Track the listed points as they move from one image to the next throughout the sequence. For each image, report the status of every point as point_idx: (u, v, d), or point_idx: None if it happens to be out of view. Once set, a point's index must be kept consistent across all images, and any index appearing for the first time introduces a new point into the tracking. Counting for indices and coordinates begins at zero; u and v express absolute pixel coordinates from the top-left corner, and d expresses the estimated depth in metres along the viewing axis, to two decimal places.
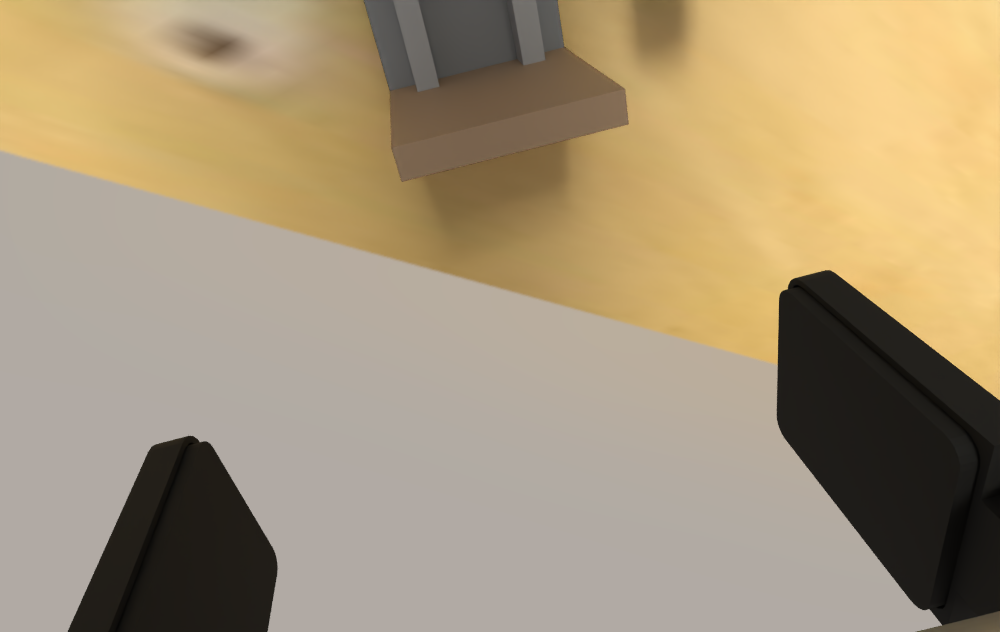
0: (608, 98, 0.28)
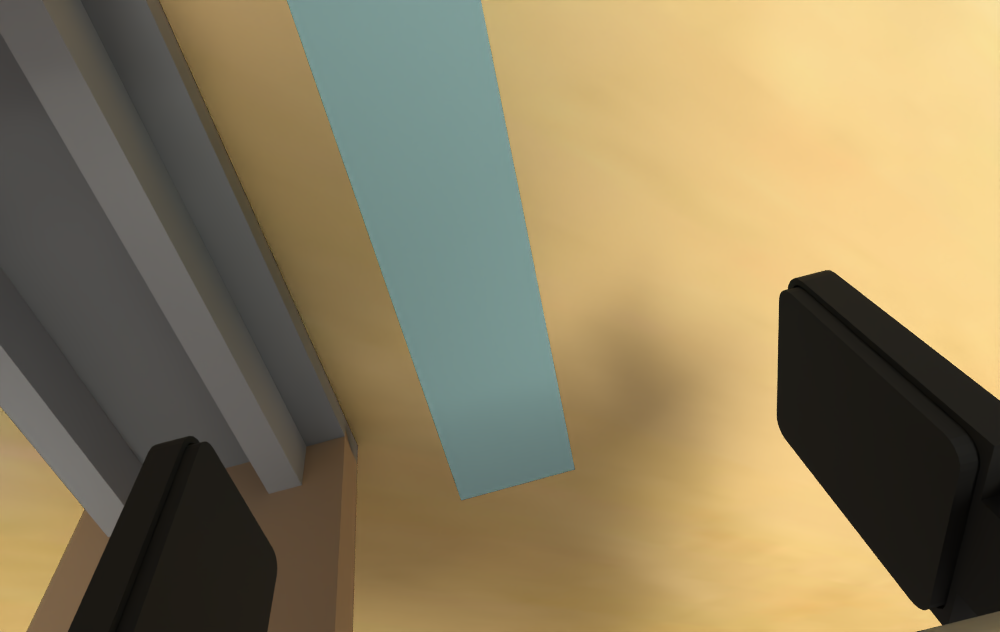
0: None
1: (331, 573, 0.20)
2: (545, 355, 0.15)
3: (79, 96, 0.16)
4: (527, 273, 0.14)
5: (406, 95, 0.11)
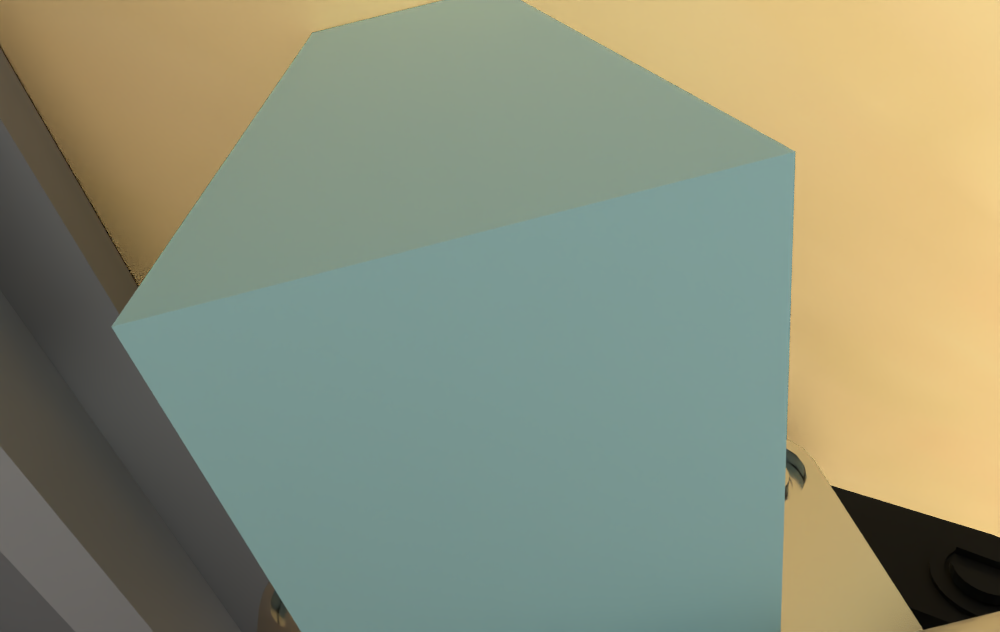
0: None
1: None
2: None
3: None
4: None
5: (522, 547, 0.04)
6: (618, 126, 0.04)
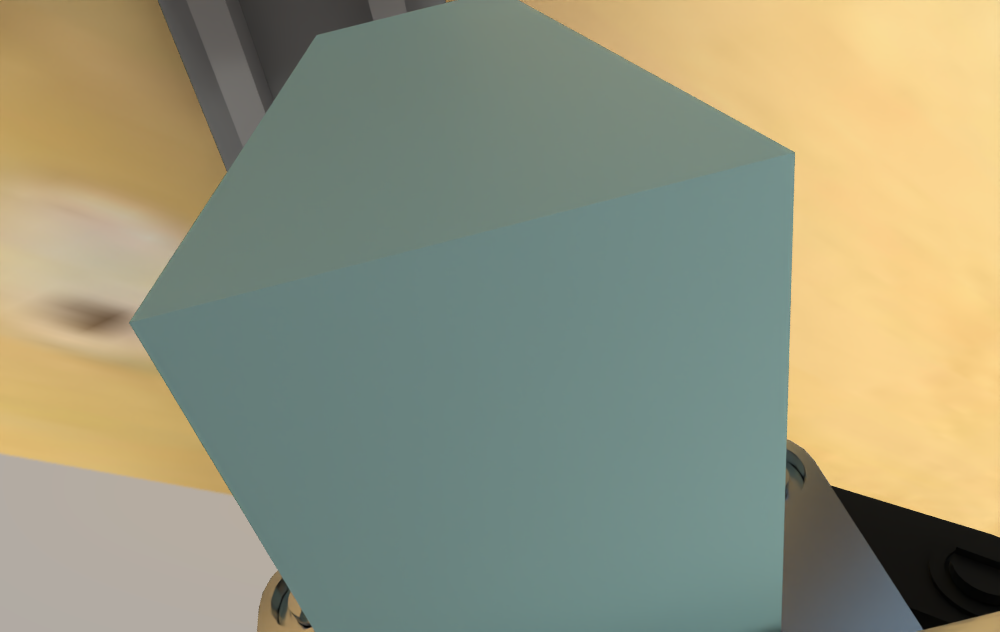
0: None
1: None
2: None
3: None
4: None
5: (526, 540, 0.04)
6: (621, 128, 0.04)
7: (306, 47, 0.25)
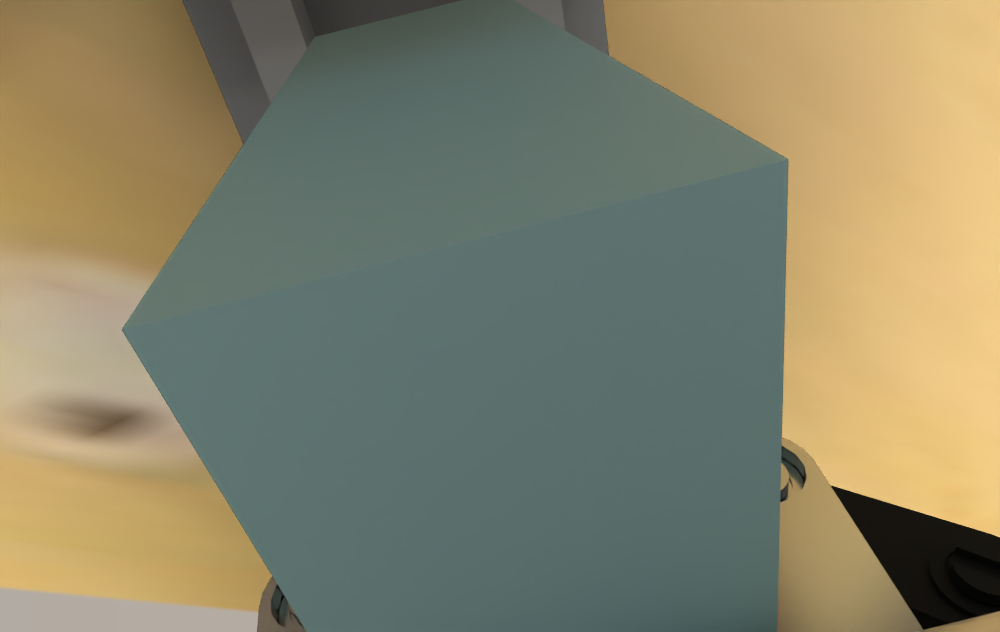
0: None
1: None
2: None
3: (549, 7, 0.15)
4: None
5: (523, 545, 0.04)
6: (616, 133, 0.04)
7: None
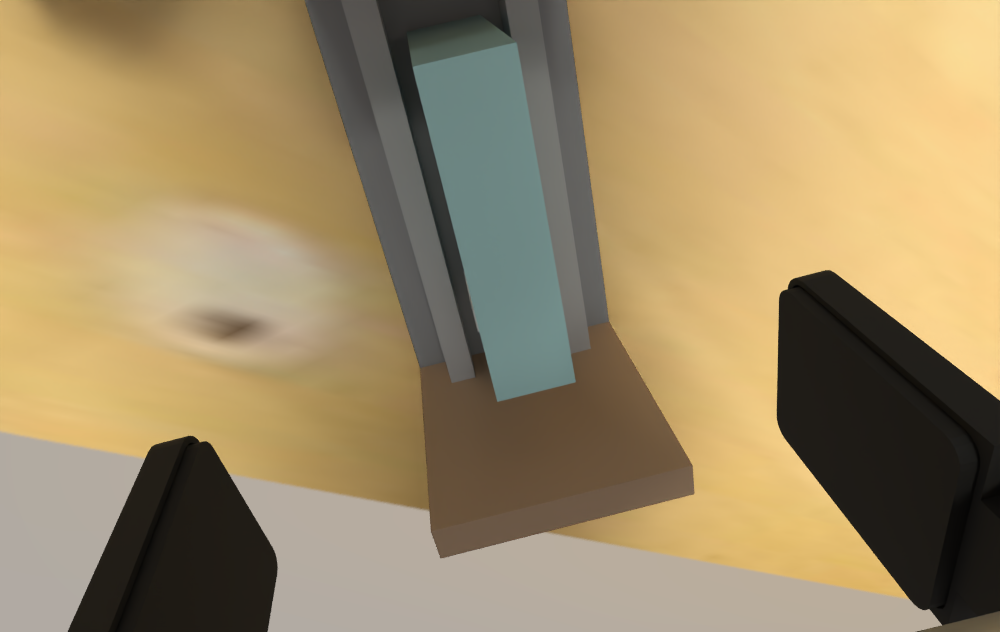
0: (673, 474, 0.25)
1: (644, 390, 0.29)
2: (556, 295, 0.23)
3: (538, 53, 0.25)
4: (545, 238, 0.22)
5: (476, 125, 0.20)
6: (494, 42, 0.19)
7: None
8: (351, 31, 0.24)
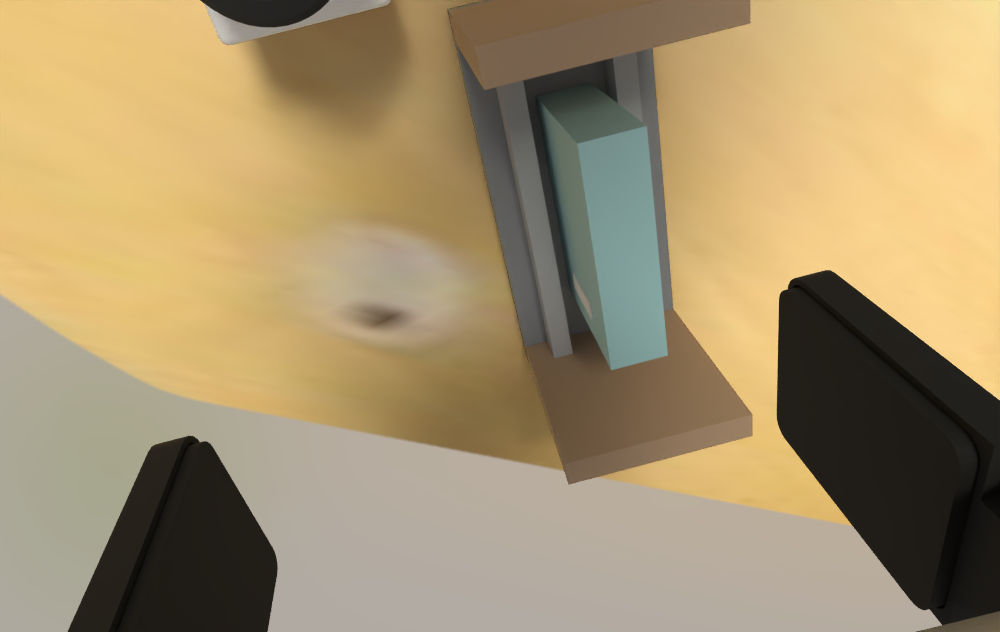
0: (738, 421, 0.34)
1: (709, 362, 0.38)
2: (659, 293, 0.32)
3: (636, 112, 0.34)
4: (655, 254, 0.31)
5: (615, 180, 0.29)
6: (628, 123, 0.28)
7: None
8: (503, 101, 0.33)
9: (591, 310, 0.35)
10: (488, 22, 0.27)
